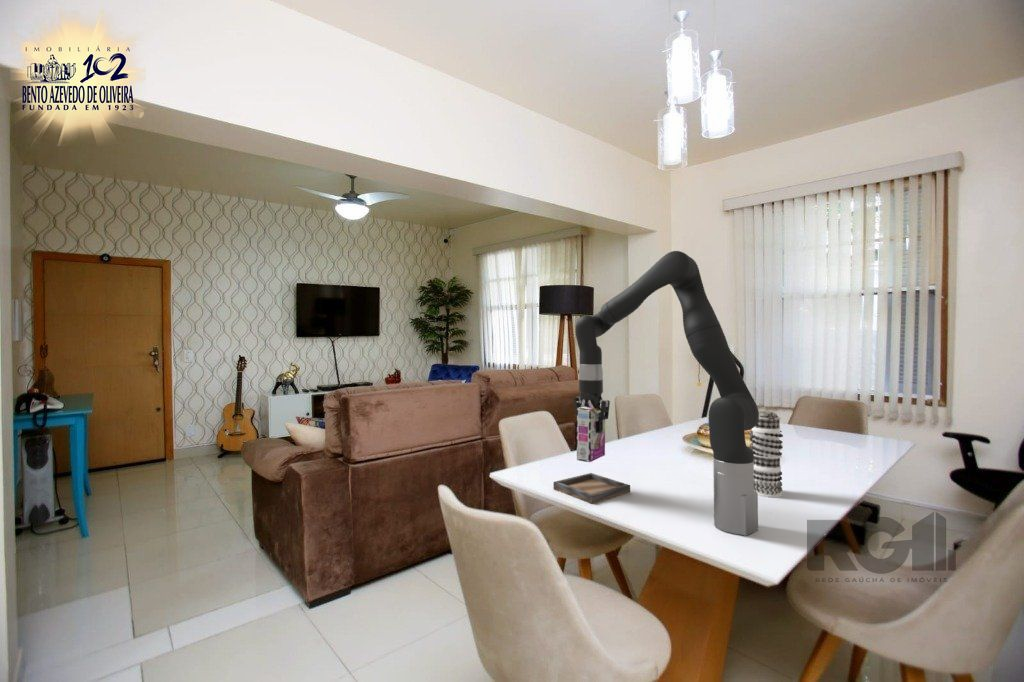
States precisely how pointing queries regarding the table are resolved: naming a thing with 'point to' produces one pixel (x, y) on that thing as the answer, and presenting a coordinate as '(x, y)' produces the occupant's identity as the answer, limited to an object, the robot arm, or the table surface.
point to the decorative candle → (767, 455)
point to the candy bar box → (589, 435)
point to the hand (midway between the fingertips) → (591, 431)
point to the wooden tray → (591, 487)
